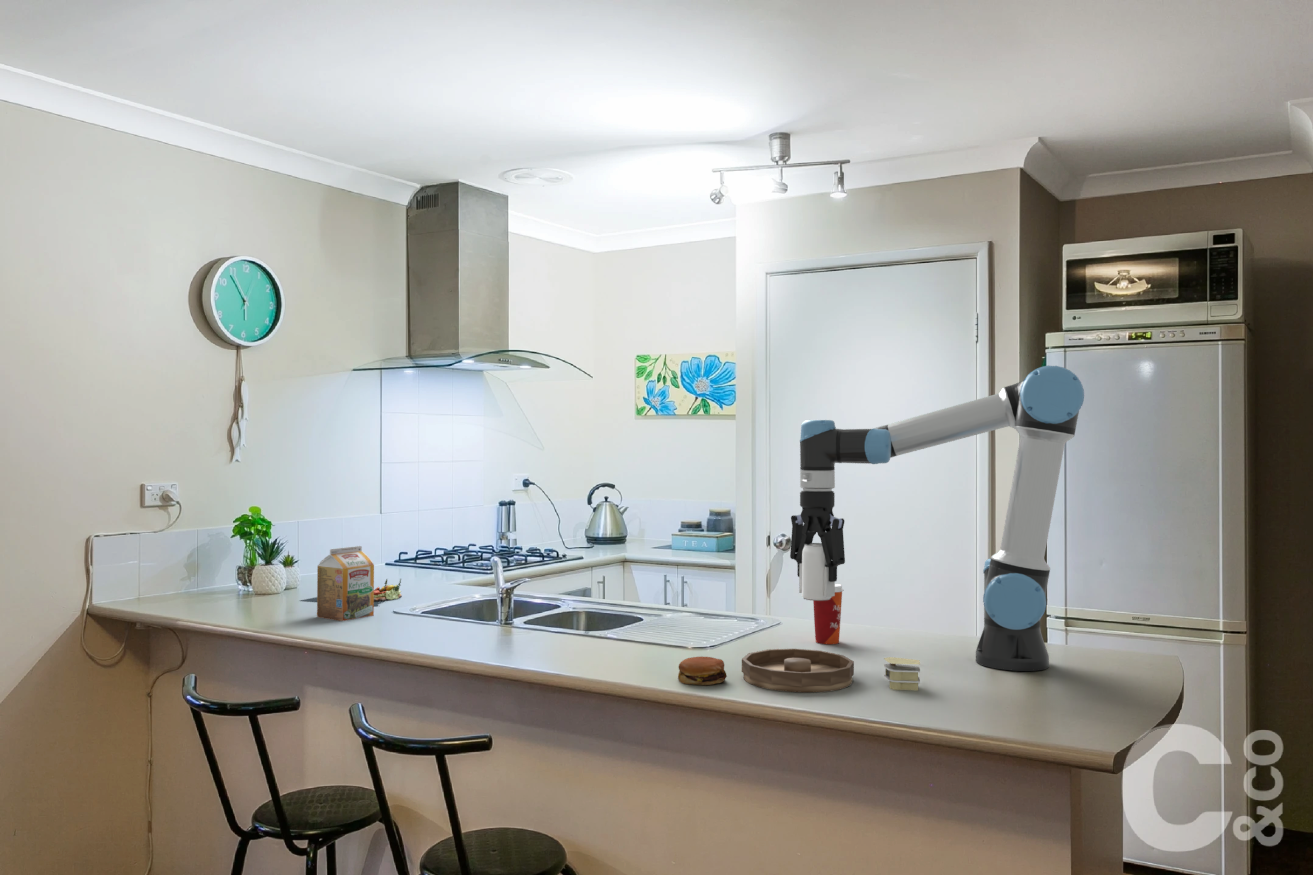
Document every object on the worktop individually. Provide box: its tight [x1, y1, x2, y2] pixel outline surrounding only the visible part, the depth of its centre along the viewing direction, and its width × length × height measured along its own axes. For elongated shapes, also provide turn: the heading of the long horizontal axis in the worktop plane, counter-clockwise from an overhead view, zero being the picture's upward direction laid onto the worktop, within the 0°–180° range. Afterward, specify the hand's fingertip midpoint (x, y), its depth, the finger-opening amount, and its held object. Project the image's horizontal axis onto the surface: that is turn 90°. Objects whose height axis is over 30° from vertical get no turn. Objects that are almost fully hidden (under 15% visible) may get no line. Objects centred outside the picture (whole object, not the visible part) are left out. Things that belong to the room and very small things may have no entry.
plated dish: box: [299, 578, 402, 608], centre depth 297 cm, size 35×28×7 cm
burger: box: [677, 656, 728, 686], centre depth 195 cm, size 10×10×5 cm
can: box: [801, 542, 831, 602], centre depth 213 cm, size 6×6×12 cm
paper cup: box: [812, 582, 844, 645], centre depth 234 cm, size 8×8×14 cm
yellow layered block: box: [883, 656, 921, 691], centre depth 191 cm, size 10×9×6 cm
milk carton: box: [316, 545, 375, 622], centre depth 266 cm, size 11×11×19 cm
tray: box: [741, 648, 855, 693], centre depth 197 cm, size 22×22×4 cm
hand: (816, 594), depth 212 cm, fingers closed on can, 6 cm apart
